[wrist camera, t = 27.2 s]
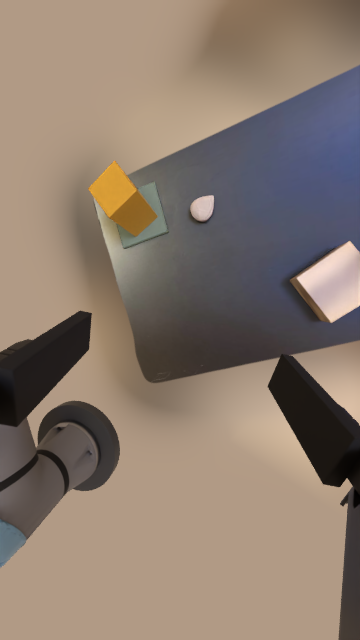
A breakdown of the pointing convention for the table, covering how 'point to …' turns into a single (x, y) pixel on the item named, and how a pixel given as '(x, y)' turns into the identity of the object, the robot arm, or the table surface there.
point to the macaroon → (202, 208)
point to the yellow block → (122, 200)
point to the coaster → (155, 227)
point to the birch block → (331, 283)
